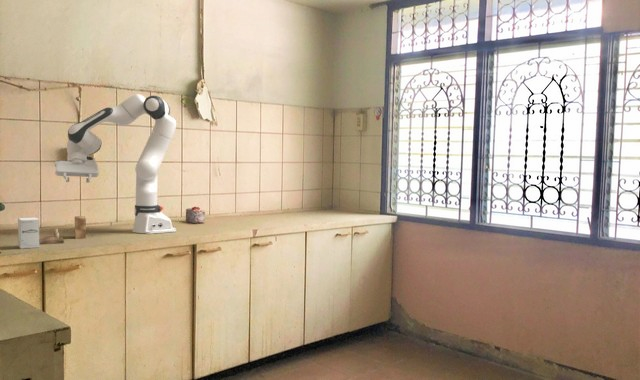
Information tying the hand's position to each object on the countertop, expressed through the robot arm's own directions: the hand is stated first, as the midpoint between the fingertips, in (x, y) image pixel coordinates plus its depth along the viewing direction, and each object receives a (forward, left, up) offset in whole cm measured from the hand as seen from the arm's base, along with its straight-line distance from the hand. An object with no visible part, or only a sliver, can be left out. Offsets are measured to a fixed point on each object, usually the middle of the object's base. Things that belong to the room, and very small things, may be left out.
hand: (77, 181), depth 268 cm
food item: (-66, -22, -27) cm, 75 cm away
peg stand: (+15, +19, -27) cm, 36 cm away
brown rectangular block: (0, +12, -27) cm, 29 cm away
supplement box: (+22, +31, -27) cm, 46 cm away
